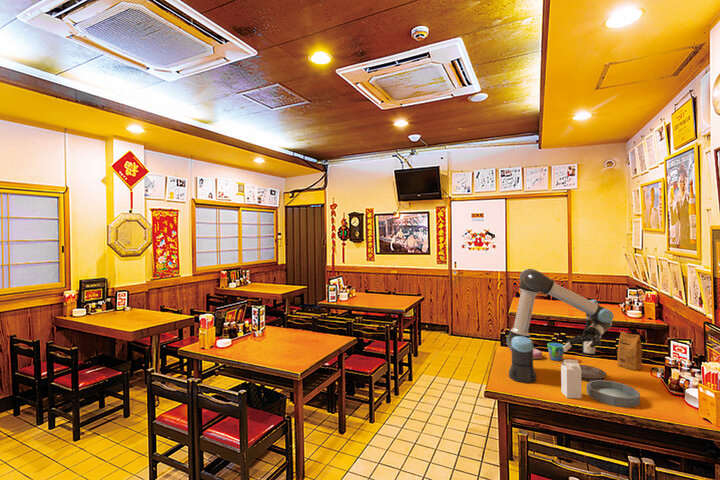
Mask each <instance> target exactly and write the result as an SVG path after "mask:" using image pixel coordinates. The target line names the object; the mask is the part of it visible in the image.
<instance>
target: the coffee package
mask: <svg viewBox="0 0 720 480" xmlns="http://www.w3.org/2000/svg"><path fill="white" fill-rule="evenodd" d="M618 339H619V340H618V344H617V357H616V358H617V366H618V367H621V368H624V369H627V370H631V371H638V370H640V369H642V368H643V362H642V361H643V360H642V358H643V344H642V340H641V334H632V333H627V332H626V331H625V332H624V331H620V335H619V338H618Z"/></svg>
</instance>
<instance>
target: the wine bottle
mask: <svg viewBox="0 0 720 480" xmlns="http://www.w3.org/2000/svg"><path fill="white" fill-rule="evenodd" d="M585 316H586V317H585V319H586V320H585V323H586V324H585V326H584V327H585V328H584V330H583V331H582V335H583V334H584V331H585V330H586V329H587V328H588V327H589V326H590V325H592V320H591V318H590V317H589V315H588V314H586V313H585ZM582 335H581V336H582ZM581 340H582V339H581ZM582 341H583V340H582ZM590 342H592V341H585V342H583V343H581V351H582V353H583V355H586V356H594V355H596V346H595V347H593V348H592V349H591V350H590V351H589V352H587V350H586V348H585V347H586V346H587V345H588V344H589V343H590Z"/></svg>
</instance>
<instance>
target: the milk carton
mask: <svg viewBox="0 0 720 480" xmlns="http://www.w3.org/2000/svg"><path fill="white" fill-rule="evenodd" d="M579 365H580V363H579V359H563V361H562V363H561V365H560V377H561V378H560V383H561V384H560V385H561V388H560V390H561V393H562V394H563V395H564V396H565V397H566V398H567V399H582V380H581V368H580V366H579Z"/></svg>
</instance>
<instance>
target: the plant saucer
mask: <svg viewBox="0 0 720 480" xmlns="http://www.w3.org/2000/svg"><path fill="white" fill-rule="evenodd" d="M579 366H580V368H581V381H587V382H589V381H594V380H604V379H605V378H606V377H607V372H606V371H604V370H602V369H600V368H598V367H595V366H592V365H585V364H579Z"/></svg>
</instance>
